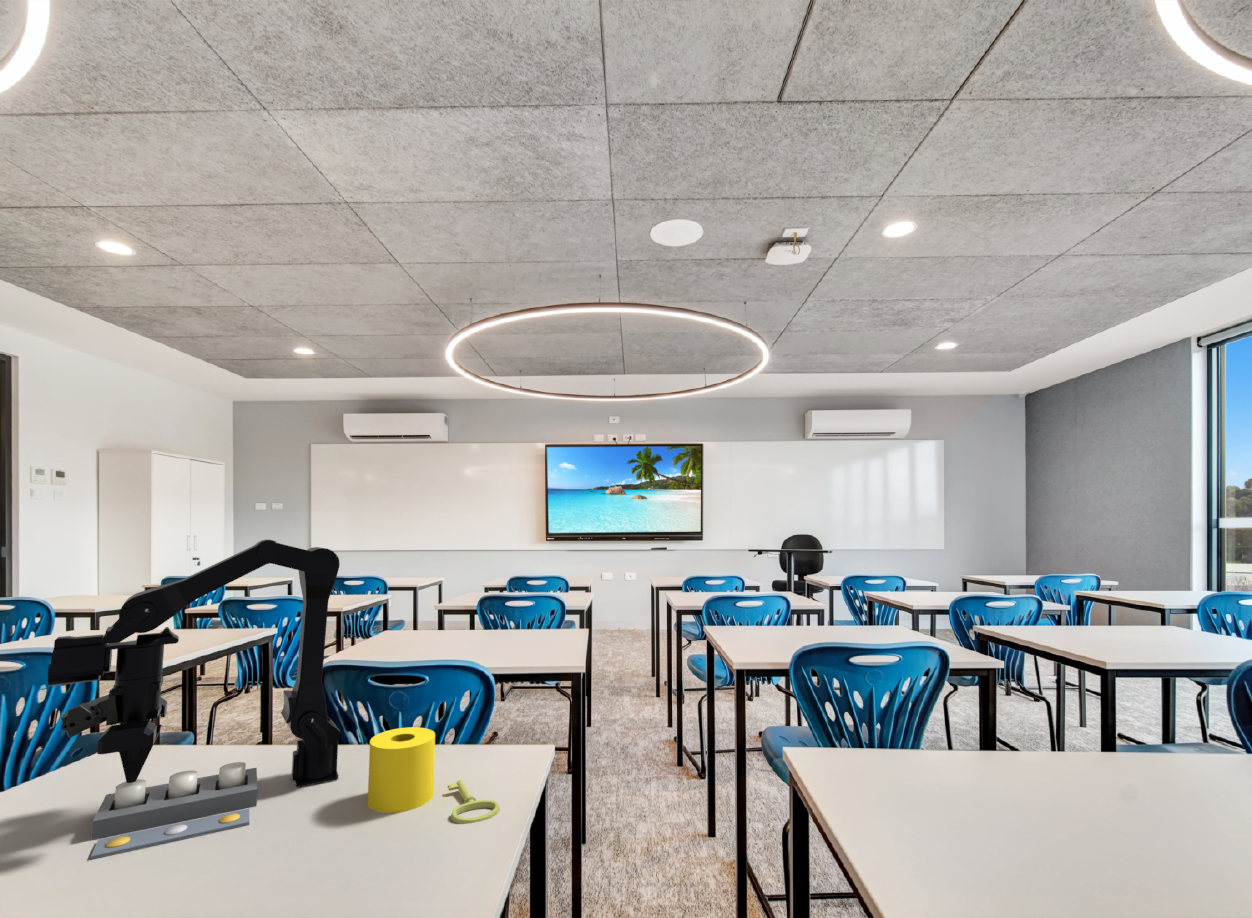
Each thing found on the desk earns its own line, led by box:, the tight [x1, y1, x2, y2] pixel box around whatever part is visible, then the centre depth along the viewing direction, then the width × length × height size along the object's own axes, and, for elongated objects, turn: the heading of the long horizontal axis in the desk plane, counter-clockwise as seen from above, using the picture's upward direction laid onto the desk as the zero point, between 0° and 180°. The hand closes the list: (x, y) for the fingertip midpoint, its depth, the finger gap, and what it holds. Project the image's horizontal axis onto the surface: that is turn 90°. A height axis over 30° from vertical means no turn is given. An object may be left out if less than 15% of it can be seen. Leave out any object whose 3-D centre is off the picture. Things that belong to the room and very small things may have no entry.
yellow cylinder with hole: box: [367, 726, 436, 814], centre depth 101 cm, size 10×10×9 cm
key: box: [447, 779, 500, 825], centre depth 97 cm, size 7×12×2 cm, turn 47°
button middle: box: [168, 770, 199, 799], centre depth 97 cm, size 4×4×3 cm
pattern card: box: [90, 808, 250, 860], centre depth 89 cm, size 18×5×1 cm, turn 121°
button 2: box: [218, 761, 247, 790], centre depth 100 cm, size 4×4×3 cm
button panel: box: [90, 767, 258, 841], centre depth 97 cm, size 20×10×2 cm, turn 121°
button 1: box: [114, 778, 147, 810], centre depth 94 cm, size 4×4×3 cm
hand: (131, 781), depth 94 cm, fingers closed
